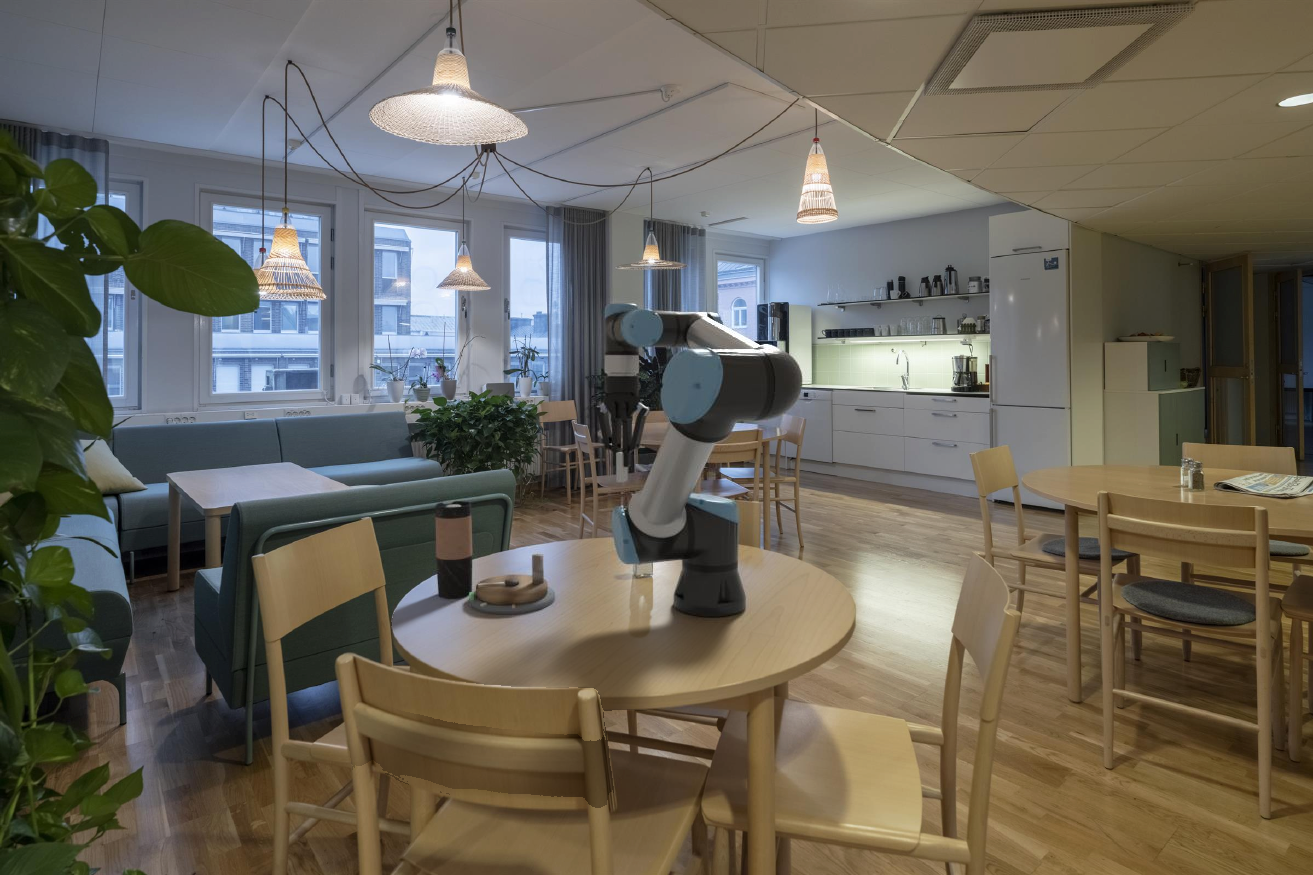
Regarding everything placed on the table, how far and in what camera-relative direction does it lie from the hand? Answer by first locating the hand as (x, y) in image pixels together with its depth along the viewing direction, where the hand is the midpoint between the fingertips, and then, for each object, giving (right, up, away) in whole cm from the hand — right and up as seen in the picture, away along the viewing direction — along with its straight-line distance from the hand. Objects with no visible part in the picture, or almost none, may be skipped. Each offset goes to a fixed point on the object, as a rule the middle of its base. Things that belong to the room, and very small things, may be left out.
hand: (621, 481), depth 163 cm
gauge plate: (-23, -25, -7) cm, 35 cm away
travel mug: (-36, -25, -2) cm, 44 cm away
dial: (-23, -24, -7) cm, 34 cm away
